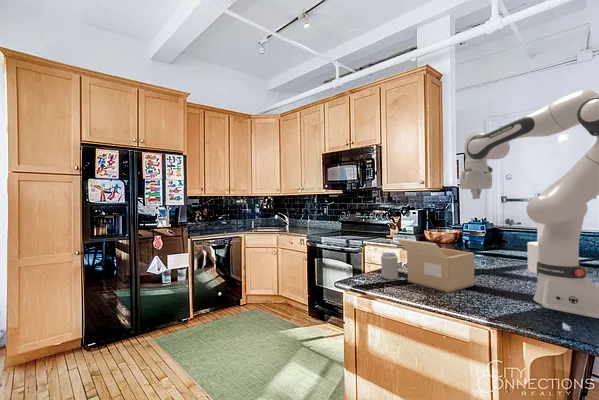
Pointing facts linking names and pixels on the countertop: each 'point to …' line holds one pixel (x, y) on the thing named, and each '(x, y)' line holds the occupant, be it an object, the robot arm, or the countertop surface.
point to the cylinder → (534, 250)
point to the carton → (441, 270)
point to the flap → (422, 247)
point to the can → (389, 266)
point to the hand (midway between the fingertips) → (476, 199)
